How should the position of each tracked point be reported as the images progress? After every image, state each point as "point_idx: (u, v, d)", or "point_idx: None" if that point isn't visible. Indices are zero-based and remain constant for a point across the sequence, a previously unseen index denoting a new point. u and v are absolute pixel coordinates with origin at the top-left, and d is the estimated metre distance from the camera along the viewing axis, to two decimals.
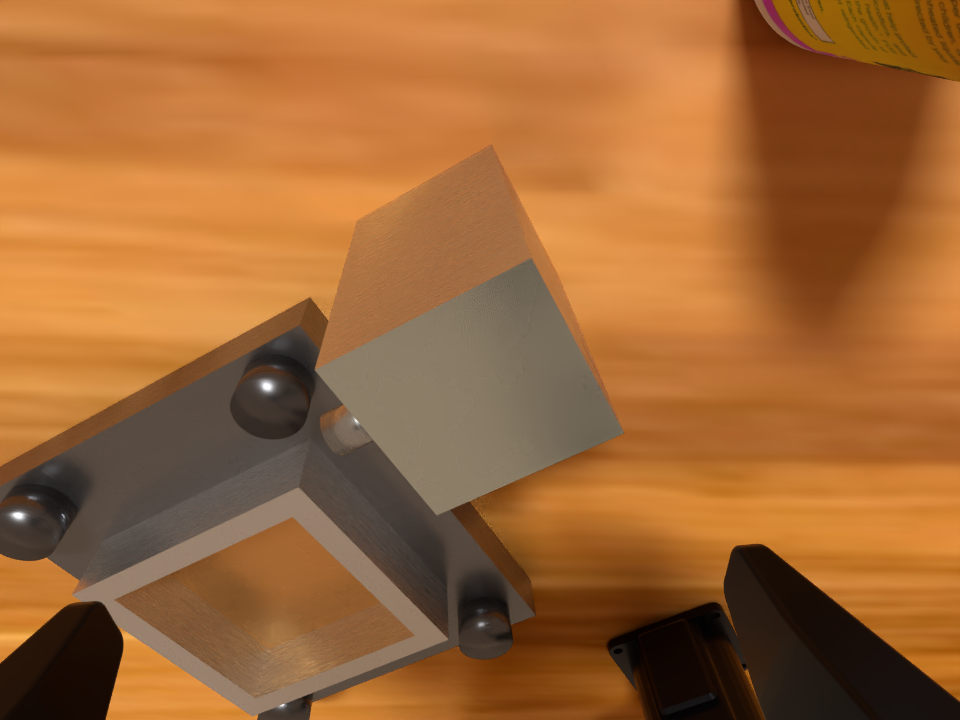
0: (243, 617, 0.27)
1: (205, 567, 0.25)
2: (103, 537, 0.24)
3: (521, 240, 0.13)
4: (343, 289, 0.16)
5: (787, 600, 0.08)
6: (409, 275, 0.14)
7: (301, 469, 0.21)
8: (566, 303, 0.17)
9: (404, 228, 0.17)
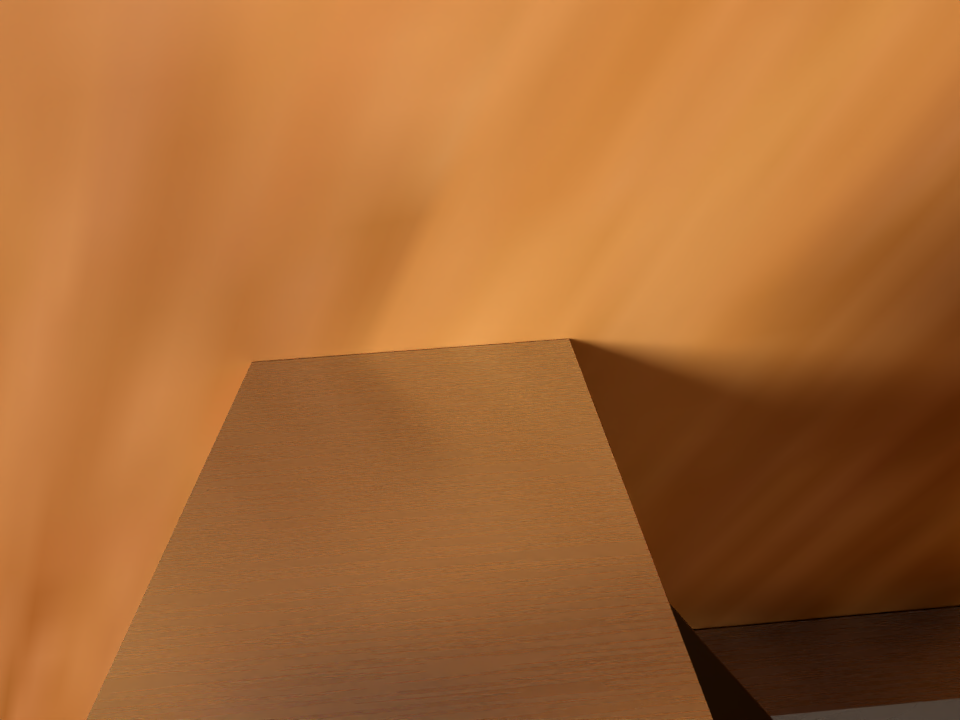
0: None
1: None
2: None
3: None
4: None
5: None
6: None
7: None
8: (527, 592, 0.06)
9: None
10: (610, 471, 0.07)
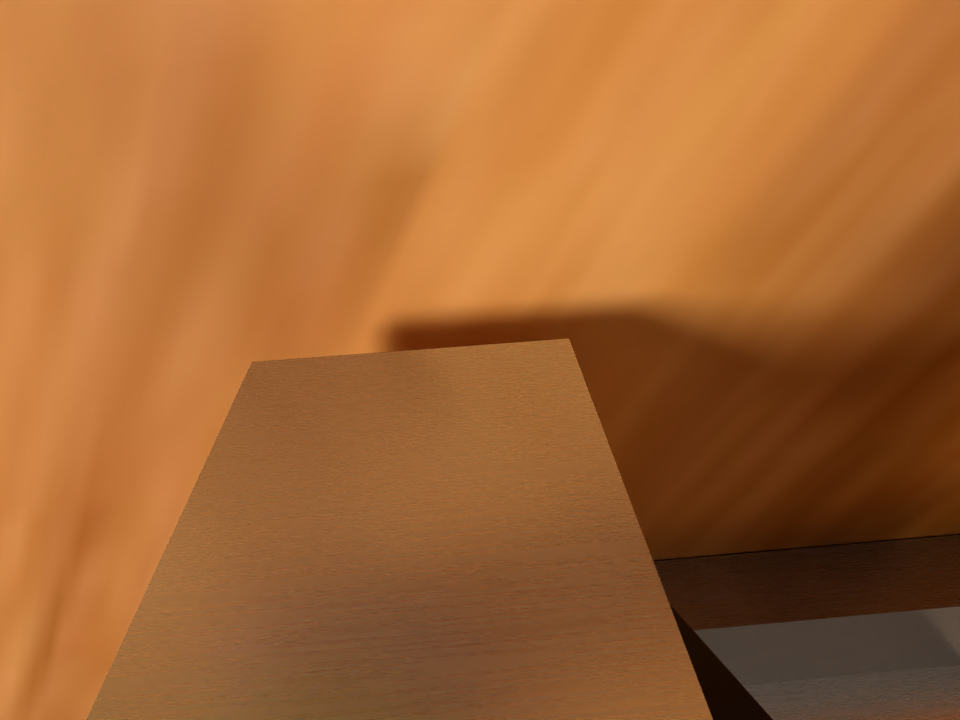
0: None
1: None
2: None
3: None
4: None
5: None
6: None
7: None
8: (527, 590, 0.06)
9: None
10: (610, 470, 0.07)
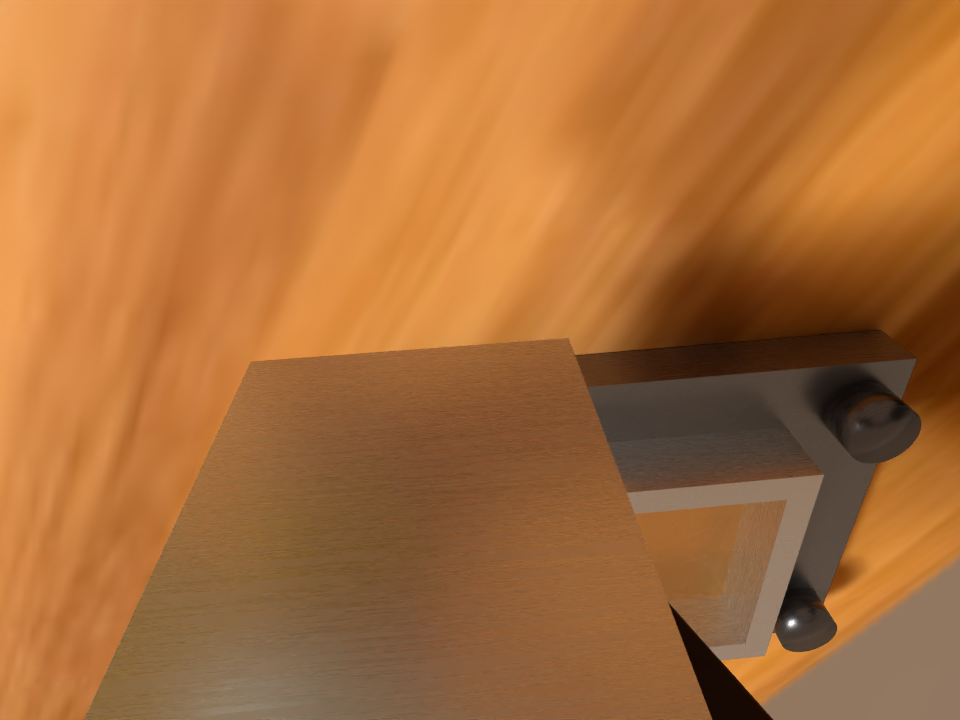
0: (668, 591, 0.26)
1: None
2: None
3: None
4: None
5: None
6: None
7: None
8: (526, 591, 0.06)
9: None
10: (609, 470, 0.07)
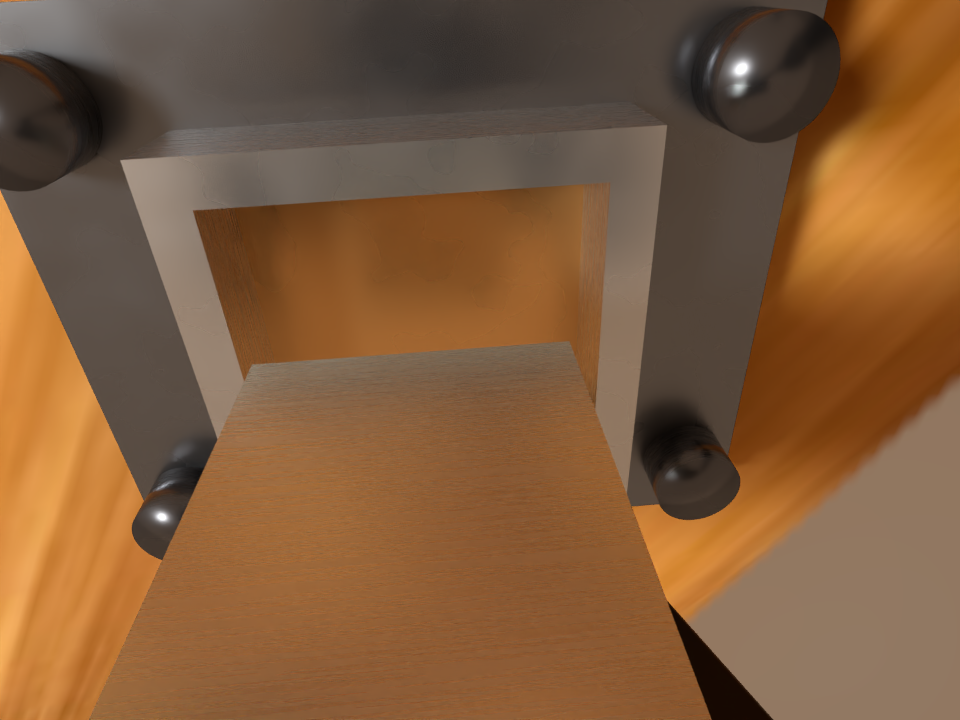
0: None
1: None
2: None
3: None
4: None
5: None
6: None
7: None
8: (527, 595, 0.06)
9: None
10: (610, 474, 0.07)
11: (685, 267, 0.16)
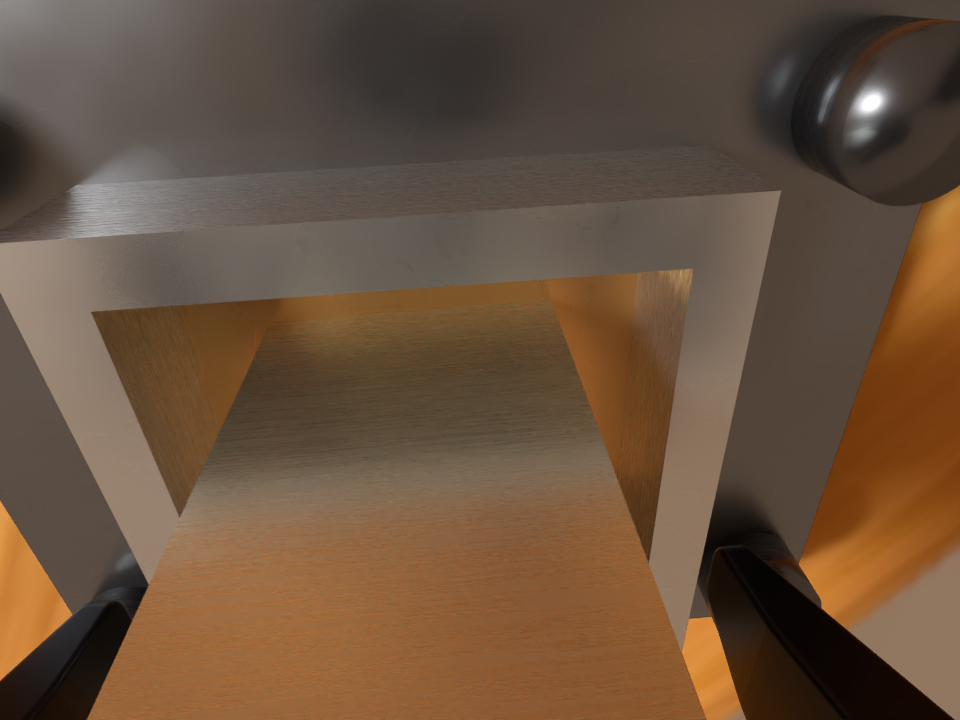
0: None
1: None
2: None
3: None
4: None
5: (767, 602, 0.08)
6: None
7: None
8: (506, 487, 0.07)
9: None
10: (580, 400, 0.08)
11: (764, 351, 0.12)
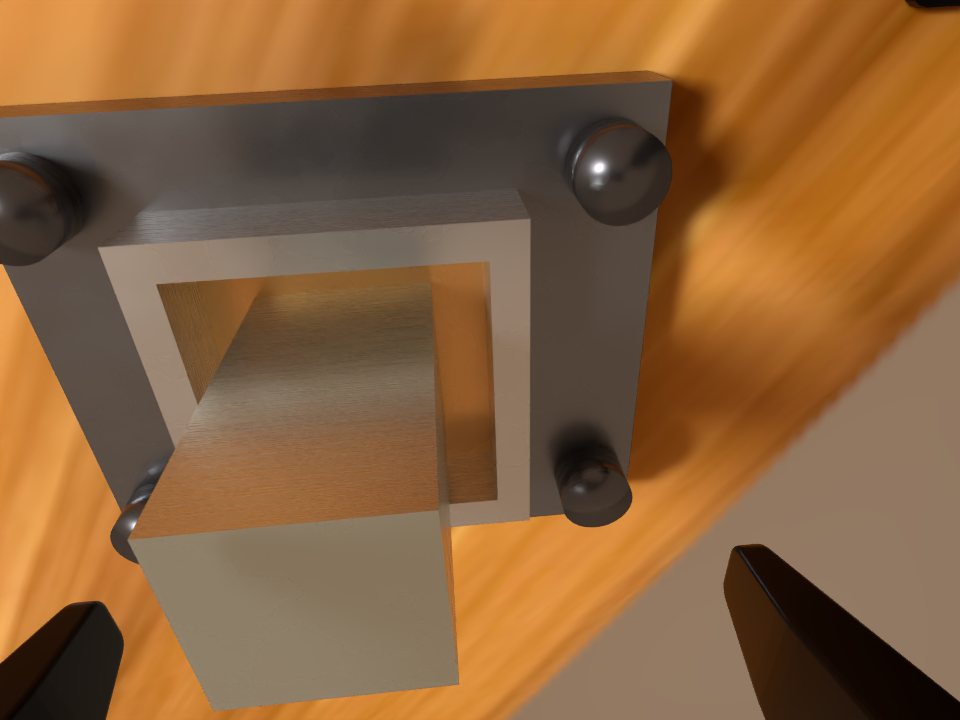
0: None
1: None
2: None
3: (150, 501, 0.11)
4: None
5: (787, 600, 0.08)
6: None
7: None
8: (376, 372, 0.14)
9: None
10: (428, 334, 0.15)
11: (574, 316, 0.19)
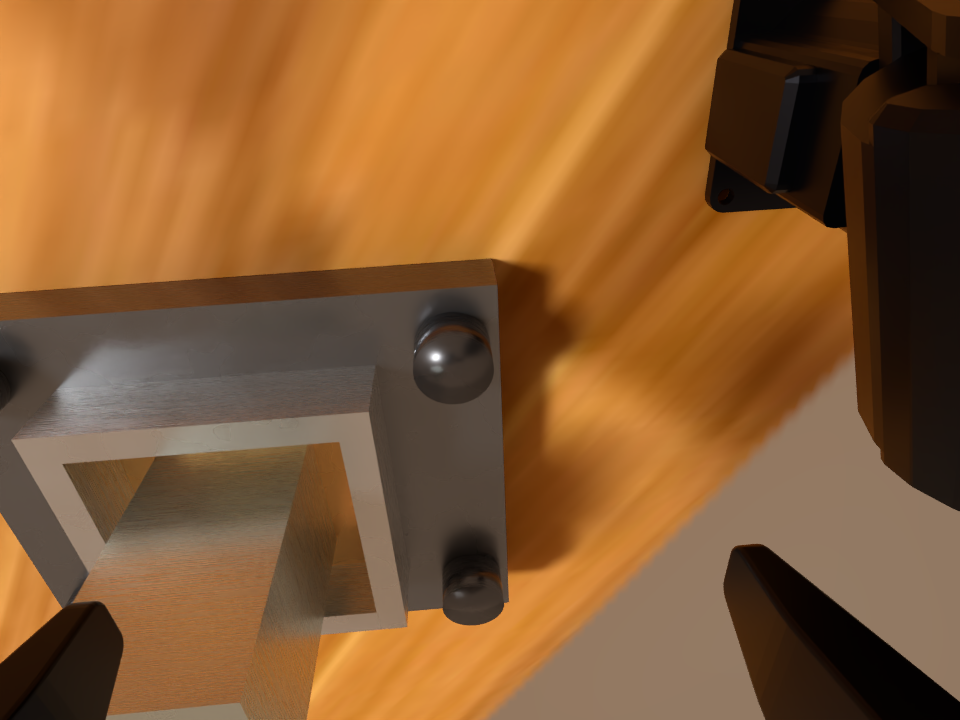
0: None
1: None
2: None
3: None
4: None
5: (787, 600, 0.08)
6: None
7: (30, 422, 0.18)
8: (234, 546, 0.17)
9: None
10: (289, 502, 0.18)
11: (440, 457, 0.22)
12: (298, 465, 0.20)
